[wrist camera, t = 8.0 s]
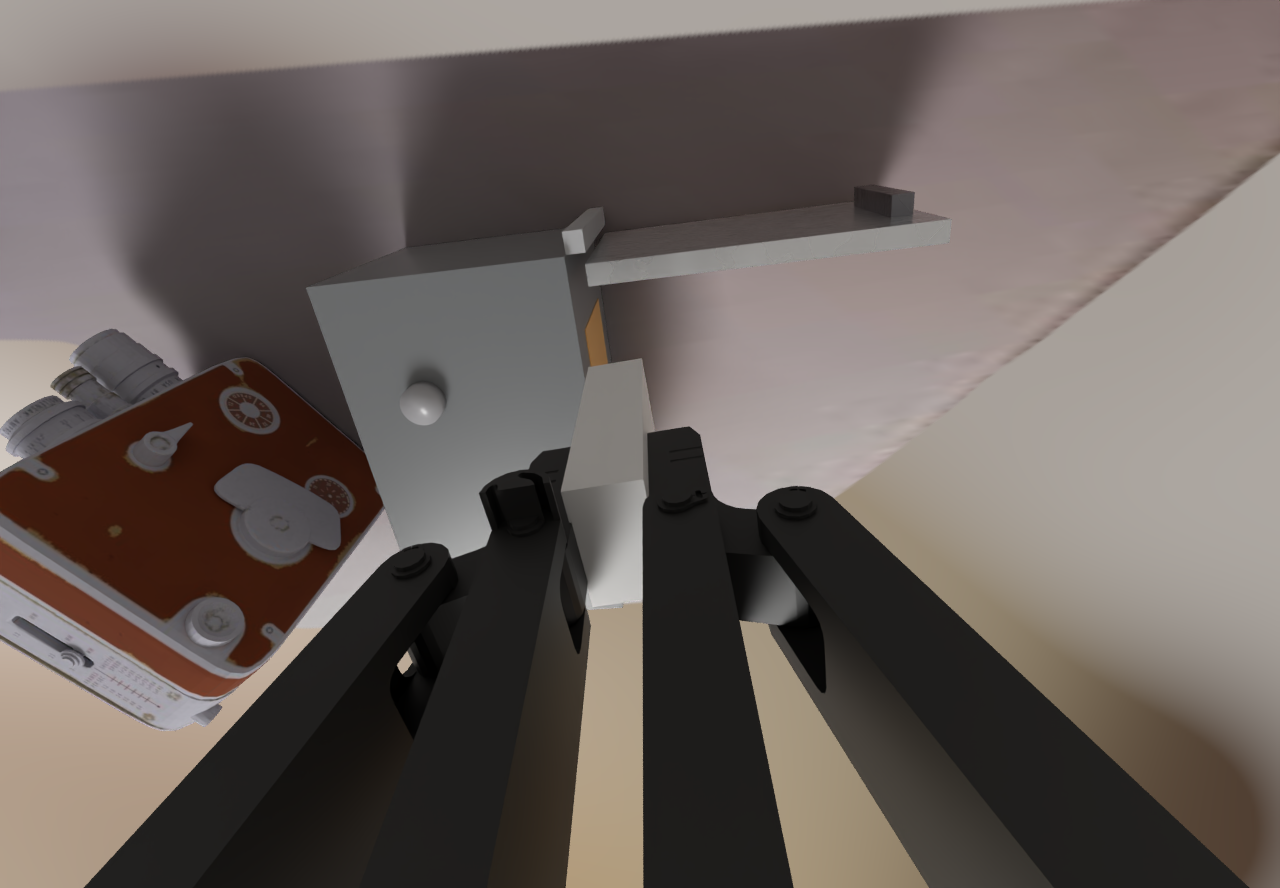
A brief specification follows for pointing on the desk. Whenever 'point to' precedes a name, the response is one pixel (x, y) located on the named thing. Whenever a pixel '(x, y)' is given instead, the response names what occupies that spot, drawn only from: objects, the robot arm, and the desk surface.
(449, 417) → the grey cabinet with knob
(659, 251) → the side door
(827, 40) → the desk surface
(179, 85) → the desk surface
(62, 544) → the cine camera
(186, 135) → the desk surface
